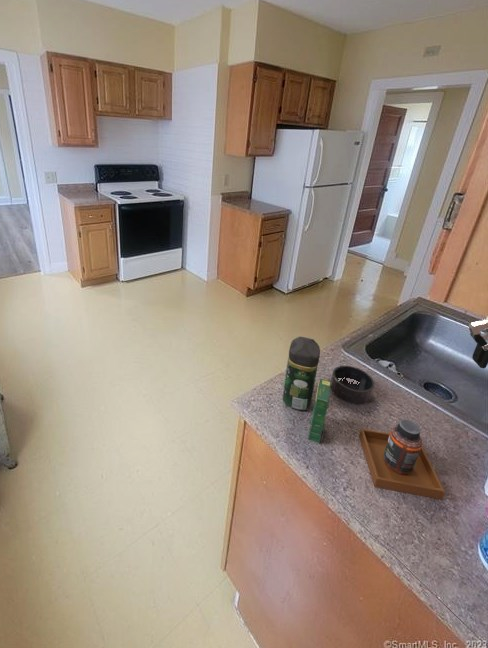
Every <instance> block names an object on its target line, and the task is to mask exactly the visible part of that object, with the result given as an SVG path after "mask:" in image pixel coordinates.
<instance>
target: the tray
mask: <svg viewBox="0 0 488 648" xmlns="http://www.w3.org/2000/svg"><path fill="white" fill-rule="evenodd" d="M389 435H390V432H385V431H378V430H373V429H366V428H360V430H359V434H358V437H359V441H360V443H361V448H362V450H363V454H364V458H365V460H366V464H367V468H368V470H369V474H370V477H371V480H372V484H373V487H374V488H379V489H385V490H389V491H394V492H400V493H403V494H404V493H405V494H410V495H414V496H415V495H416V496H420V497H424V498H431V499H436V500H440V501H441V500H443V498H444V495H445V493H446V491H445V489H444V486H443V485H442V483H441V481H440V479H439V476H438V475H437V473H436V471H435V469H434V467H433V464H432V462H431V461H430V459H429V457H428V454H427V453H426V451H425V448H424V447H423V445H422V446H421V449H420V452H419V454H418V457H417V460H416V463H415V466H414V468H413V470H412V472H411V473H410V474H400V473H397V472H395V471H393V470H392V469H391V468H390V467H388V465H387V464H386V463H385V461H384V457H383V456H384V451H385V448H386V445H387V442H388V439H389Z"/></svg>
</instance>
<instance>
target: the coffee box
mask: <svg viewBox="0 0 488 648" xmlns="http://www.w3.org/2000/svg"><path fill="white" fill-rule="evenodd" d="M330 383H331V380H326V379H323V378H319V380H318V385H317V389H316V394H315V399H314V405H313V410H312V415H311V421H310V427H309V432H308V437H307V438H308V441H310V442H312V443H315V444H320V443H321V438H322V433H323V428H324V424H325V419H326V416H327V415H326V414H327V410H328V406H329V400H330V392H331V387H330Z"/></svg>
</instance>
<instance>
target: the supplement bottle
mask: <svg viewBox="0 0 488 648" xmlns="http://www.w3.org/2000/svg"><path fill="white" fill-rule="evenodd" d="M389 433H390V435H389V439H388V442H387V445H386V448H385V451H384V456H383V457H384V461H385V463H386V464H387V465H388V467H390V468H391V469H392V470H393V471H395V472H397V473H400V474H410V473H411V472H412V470H413V468H414V466H415V463H416V460H417V457H418V454H419V452H420V449H421V446H422V447H423V439H422V437H421V427H420V426H419V425H418V424H417V423H416V422H414V421H413V420H411V419H407V418H403V419H399V421H398V424H395V425H393V426H392V427H391V429H390V432H389Z"/></svg>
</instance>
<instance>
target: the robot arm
mask: <svg viewBox="0 0 488 648" xmlns="http://www.w3.org/2000/svg"><path fill="white" fill-rule="evenodd" d="M468 330H469V334H470V337H471V338H472V339H473V340H474V342H475V343H476V345H475V348H474V350H473V353H472V361H474V362H475V364H476V365H477V366H478V367H479V368H480V369H486V368H487V367H488V316H486V318H485V319H482V320H476V321H473V322H469V324H468ZM482 331H484V332H483V333H482Z"/></svg>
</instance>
